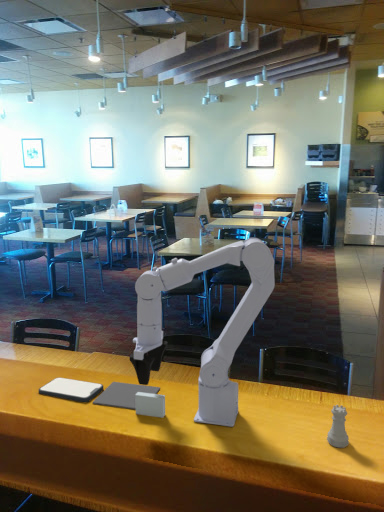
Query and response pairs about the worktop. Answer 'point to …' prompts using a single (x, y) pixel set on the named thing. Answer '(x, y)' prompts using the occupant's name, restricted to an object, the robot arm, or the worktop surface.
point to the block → (150, 404)
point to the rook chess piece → (338, 428)
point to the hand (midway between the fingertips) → (149, 377)
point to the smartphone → (71, 389)
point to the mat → (123, 394)
